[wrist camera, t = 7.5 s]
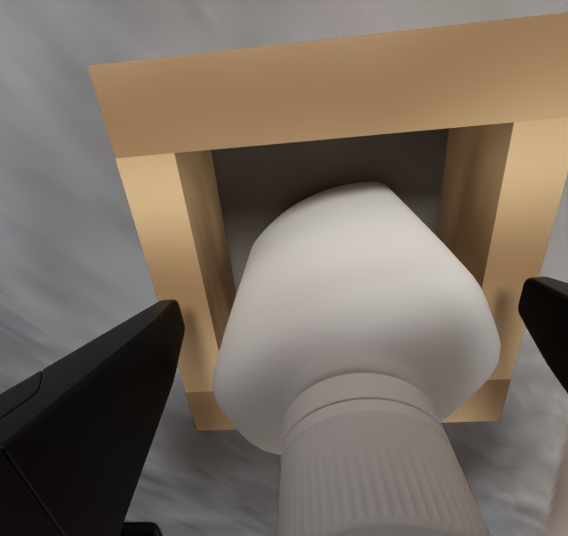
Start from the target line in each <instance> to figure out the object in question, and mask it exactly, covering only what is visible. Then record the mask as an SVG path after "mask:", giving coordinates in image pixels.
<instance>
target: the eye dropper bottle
mask: <svg viewBox="0 0 568 536" xmlns="http://www.w3.org/2000/svg"><path fill="white" fill-rule="evenodd" d="M500 348H501V343H500V339H499V335H498V331H497V328H496V325H495V322H494V319H493V316H492V313H491V311H490V308H489V305H488V303H487V300H486V298H485V296H484V293H483V291H482V289H481V287H480V285H479V284H478V282H477V281H476V279H475V278H474V276H473V275H472V274H471V273H470V272H469V271H468V270H467V269H466V268H465V266H464V265H463V264H462V263H461V262H460V261H459V260H458V259H457V258H456V257H455V255H454V254H453V253H452V252H451V251H450V250H449V249H448V248H447V247H446V246H445V245H444V243H443V242H442V241H441V240H440V239H439V238H438V237H437V236H436V235H435V234H434V233H433V232H432V231H431V230H430V229H429V228H428V227H427V226H426V225H425V224H424V223H423V222H422V221H421V220H420V219H419V218H418V217H417V216H416V215H415V214H414V213H413V212H412V211H411V210H410V209H409V208H408V207H407V206H406V205H405V204H404V203H403V202H402V200H401V199H400V198H399V197H398V196H397V195H396V194H395V193H394V192H393V191H392V190H391V189H390V188H389V187H387V186H386V185H385V184H382V183H379V182H359V183H352V184H346V185H342V186H338V187H334V188H330V189H327V190H324V191H321V192H319V193H316V194H314V195H312V196H310V197H308V198H306V199H304V200H302V201H300V202H298V203H297V204H295V205H293V206H292V207H290V208H289V209H288V210H286V211H285V212H283V213H282V214H281V215H280V216H279V217H277V218H276V219H275V220H274V221H273V222H272V223H271V224H270V225H269V226H268V227H267V228H266V229H265V230H264V231H263V232H262V233H261V235H260V236H259V237H258V238H257V240H256V241H255V243H254V244H253V246H252V248H251V251H250V254H249V257H248V260H247V263H246V267H245V270H244V273H243V276H242V279H241V282H240V285H239V288H238V291H237V294H236V298H235V301H234V304H233V307H232V310H231V313H230V317H229V320H228V323H227V326H226V329H225V333H224V336H223V340H222V343H221V347H220V350H219V354H218V357H217V361H216V364H215V368H214V372H213V379H212V388H213V392H214V395H215V398H216V401H217V403H218V405H219V407H220V408H221V410H222V411H223V413H224V414H225V415H226V417H227V418H228V419H229V421H230V422H231V423H232V424H233V426H234V427H235V428H236V429H237V430H238V431H239V432H240V434H241V435H242V436H243V437H244V438H245V439H247V440H248V441H249V442H250V443H251V444H253V445H255V446H256V447H258V448H260V449H261V450H263V451H266V452H270V453H274V454H277V455H281V470H280V489H279V507H278V526H277V536H490V533H489V531H488V529H487V526H486V524H485V522H484V520H483V517H482V515H481V513H480V510H479V508H478V506H477V504H476V501H475V499H474V497H473V494H472V492H471V490H470V487H469V485H468V483H467V481H466V478H465V476H464V474H463V471H462V469H461V467H460V465H459V462H458V460H457V458H456V455H455V453H454V451H453V448H452V446H451V444H450V441H449V439H448V437H447V435H446V432H445V430H444V428H443V425H442V423H441V422H442V421H443V420H444V419H445V418H447V417H448V416H449V415H451V414H452V413H453V412H454V411H456V410H457V409H458V408H459V407H460V406H461V405H463V404H464V403H465V402H466V401H467V400H468V399H469V398H470V397H471V396H472V395H473V394H474V393H475V392H476V391H477V390H478V389H479V388H480V387H481V386H482V385H483V384H484V383H485V382H486V381H487V379H488V378H489V377H490V375H491V374H492V372H493V371H494V369H495V368H496V366H497V364H498V362H499V356H500Z"/></svg>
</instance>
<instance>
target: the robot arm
mask: <svg viewBox="0 0 568 536" xmlns="http://www.w3.org/2000/svg"><path fill="white" fill-rule="evenodd" d="M518 312H519V315H520V317H521V319H522V320H523V322H524V324H525V326H526V328H527V329H528V331H529V333H530V335H531V336H532V338H533V340H534V342H535V344H536V345H537V347H538V349H539V351H540V353H541V354H542V356H543V358H544V359H545V361H546V363H547V364H548V366H549V367H550V369H551V370H552V372H553V373H554V375H555V376H556V378H557V379H558V380H559V382H560V383H561V385H562V386H563V387H564V389H565V390H566V392H567V393H568V283H565V282H562V281H559V280H555V279H552V278H549V277H531V278H528V279H526V280H525V282H524V284H523V288H522V292H521V296H520V300H519V304H518ZM184 334H185V324H184V320H183V317H182V313H181V309H180V306H179V303H178V301H177V300H175V299H170V300H161V301H159V302H157V303H156V304H154V305H152V306H150V307H149V308H147V309H145V310H144V311H142V312H140V313H139V314H137V315H135V316H133V317H132V318H130V319H128V320H127V321H125V322H123V323H121V324H120V325H118V326H116V327H115V328H113V329H111V330H110V331H108V332H106V333H104V334H103V335H101V336H99V337H98V338H96V339H94V340H92V341H91V342H89V343H87V344H86V345H84V346H82V347H81V348H79V349H77V350H75V351H74V352H72V353H70V354H69V355H67V356H65V357H64V358H62V359H60V360H58V361H57V362H55V363H53V364H52V365H50V366H48V367H46V368H45V369H44V370H43V372H42V371H40V372H38V373H36V374H34V375H33V376H31V377H29V378H28V379H26V380H24V381H22V382H21V383H19V384H17V385H15V386H14V387H12V388H10V389H8V390H7V391H5V392H3V393H1V394H0V536H160V535H159V532H158V530H157V528H156V527H155V526H154V525H151V524H123V522H124V520H125V517H126V514H127V511H128V508H129V506H130V503H131V500H132V497H133V494H134V491H135V489H136V486H137V483H138V480H139V477H140V475H141V472H142V469H143V466H144V463H145V461H146V458H147V455H148V452H149V449H150V446H151V444H152V441H153V438H154V435H155V432H156V430H157V427H158V424H159V421H160V418H161V416H162V413H163V410H164V407H165V404H166V402H167V399H168V396H169V393H170V390H171V387H172V384H173V381H174V377H175V373H176V369H177V365H178V360H179V356H180V351H181V347H182V343H183V338H184Z"/></svg>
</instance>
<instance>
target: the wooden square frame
mask: <svg viewBox="0 0 568 536" xmlns="http://www.w3.org/2000/svg"><path fill="white" fill-rule="evenodd" d="M88 69H89V72H90V76H91V79H92V82H93V86H94V89H95V92H96V96H97V99H98V102H99V106H100V109H101V112H102V116H103V119H104V122H105V126H106V129H107V132H108V136H109V139H110V142H111V146H112V149H113V152H114V156H115V159H116V162H117V166H118V169H119V172H120V176H121V179H122V182H123V186H124V189H125V192H126V196H127V199H128V202H129V206H130V209H131V212H132V216H133V219H134V222H135V226H136V229H137V232H138V236H139V239H140V242H141V246H142V249H143V252H144V256H145V259H146V262H147V266H148V269H149V272H150V276H151V279H152V282H153V286H154V289H155V292H156V296H157V299H158V302H159V301H161V300H170V299H175V300H177V301H178V303H179V306H180V309H181V313H182V317H183V320H184V324H185V334H184V338H183V343H182V347H181V351H180V356H179V360H178V365H177V366H178V369H179V372H180V376H181V379H182V382H183V386H184V389H185V392H186V396H187V399H188V402H189V406H190V409H191V412H192V416H193V419H194V422H195V426H196V429H197V431H207V430H237V429H236V428H235V427H234V426H233V424H232V423H231V422H230V421H229V419H228V418H227V417H226V415H225V414H224V413H223V411H222V410H221V408H220V407H219V405H218V403H217V401H216V398H215V395H214V392H213V388H212V379H213V372H214V368H215V364H216V361H217V357H218V354H219V350H220V347H221V343H222V340H223V336H224V333H225V329H226V326H227V323H228V320H229V317H230V313H231V310H232V307H233V304H234V301H235V298H236V294H237V291H238V288H239V285H240V282H241V279H242V276H243V273H244V270H245V267H246V263H247V260H248V257H249V254H250V251H251V248H252V246H253V244H254V243H255V241H256V240H257V238H258V237H259V236H260V235H261V233H262V232H263V231H264V230H265V229H266V228H267V227H268V226H269V225H270V224H271V223H272V222H273V221H274V220H275V219H276V218H277V217H279V216H280V215H281V214H282V213H283V212H285V211H286V210H288V209H289V208H290V207H292V206H293V205H295V204H297V203H298V202H300V201H302V200H304V199H306V198H308V197H310V196H312V195H314V194H316V193H319V192H321V191H324V190H327V189H330V188H334V187H338V186H342V185H346V184H352V183H359V182H379V183H382V184H385V185H386V186H387V187H389V188H390V189H391V190H392V191H393V192H394V193H395V194H396V195H397V196H398V197H399V198H400V199H401V200H402V202H403V203H404V204H405V205H406V206H407V207H408V208H409V209H410V210H411V211H412V212H413V213H414V214H415V215H416V216H417V217H418V218H419V219H420V220H421V221H422V222H423V223H424V224H425V225H426V226H427V227H428V228H429V229H430V230H431V231H432V232H433V233H434V234H435V235H436V236H437V237H438V238H439V239H440V240H441V241H442V242H443V243H444V245H445V246H446V247H447V248H448V249H449V250H450V251H451V252H452V253H453V254H454V255H455V257H456V258H457V259H458V260H459V261H460V262H461V263H462V264H463V265H464V266H465V268H466V269H467V270H468V271H469V272H470V273H471V274H472V275H473V276H474V278H475V279H476V281H477V282H478V284H479V285H480V287H481V289H482V291H483V293H484V296H485V298H486V300H487V303H488V305H489V308H490V311H491V313H492V316H493V319H494V322H495V325H496V328H497V331H498V335H499V339H500V343H501V348H500V356H499V362H498V364H497V366H496V368H495V369H494V371H493V372H492V374H491V375H490V377H489V378H488V379H487V381H486V382H485V383H484V384H483V385H482V386H481V387H480V388H479V389H478V390H477V391H476V392H475V393H474V394H473V395H472V396H471V397H470V398H469V399H468V400H467V401H466V402H465V403H464V404H463V405H461V406H460V407H459V408H458V409H457V410H456V411H454V412H453V413H452V414H451V415H449V416H448V417H447V418H445V419H444V420H443V421H442V422H441V423H449V422H479V421H499V420H500V417H501V413H502V409H503V406H504V402H505V399H506V395H507V391H508V388H509V384H510V380H511V377H512V373H513V370H514V366H515V362H516V359H517V355H518V351H519V348H520V344H521V340H522V337H523V333H524V330H525V324H524V322H523V320H522V319H521V317H520V315H519V312H518V304H519V300H520V296H521V292H522V288H523V284H524V282H525V280H526V279H528V278H531V277H539V275H540V271H541V268H542V264H543V260H544V257H545V253H546V250H547V246H548V242H549V239H550V235H551V231H552V228H553V224H554V220H555V217H556V213H557V210H558V206H559V202H560V199H561V195H562V191H563V188H564V184H565V180H566V177H567V173H568V13H559V14H550V15H541V16H532V17H523V18H514V19H505V20H496V21H487V22H478V23H469V24H460V25H451V26H442V27H433V28H424V29H415V30H406V31H397V32H388V33H379V34H370V35H361V36H352V37H343V38H334V39H325V40H316V41H307V42H298V43H289V44H280V45H271V46H262V47H253V48H244V49H235V50H226V51H217V52H208V53H199V54H190V55H181V56H172V57H163V58H154V59H145V60H136V61H127V62H118V63H109V64H100V65H91V66H88Z"/></svg>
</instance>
